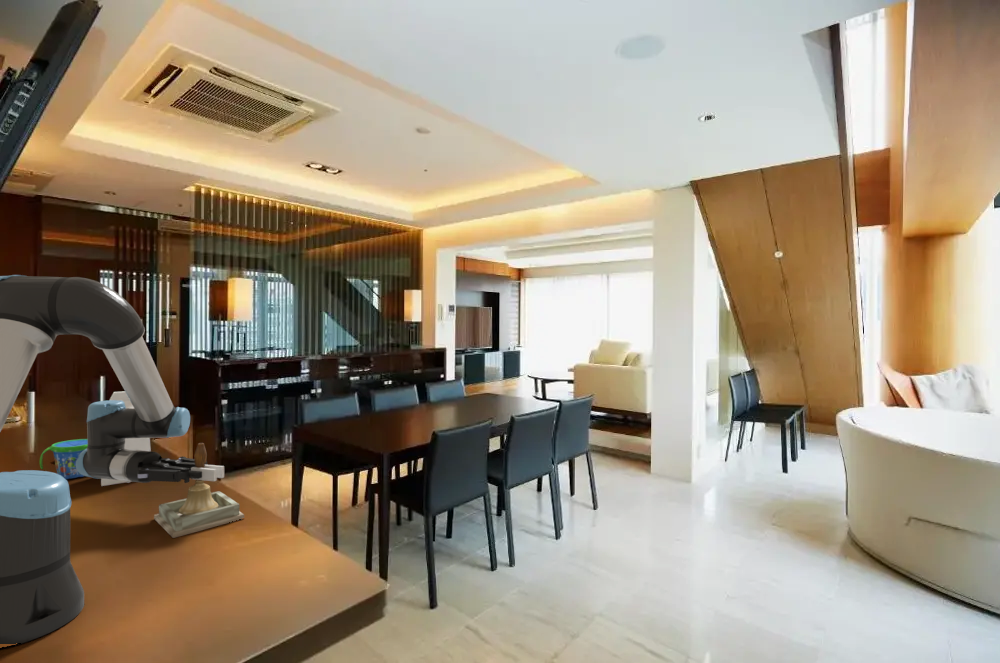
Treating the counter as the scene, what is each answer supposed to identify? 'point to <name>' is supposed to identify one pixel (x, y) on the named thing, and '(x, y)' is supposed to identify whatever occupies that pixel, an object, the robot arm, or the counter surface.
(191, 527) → the rectangular tray
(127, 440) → the milk
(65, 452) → the snack cup
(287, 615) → the counter surface
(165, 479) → the robot arm
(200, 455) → the hand bell
